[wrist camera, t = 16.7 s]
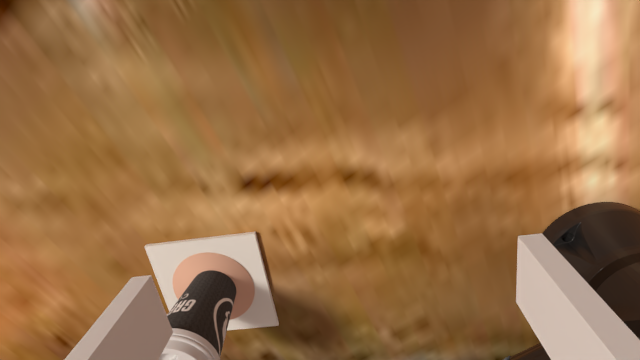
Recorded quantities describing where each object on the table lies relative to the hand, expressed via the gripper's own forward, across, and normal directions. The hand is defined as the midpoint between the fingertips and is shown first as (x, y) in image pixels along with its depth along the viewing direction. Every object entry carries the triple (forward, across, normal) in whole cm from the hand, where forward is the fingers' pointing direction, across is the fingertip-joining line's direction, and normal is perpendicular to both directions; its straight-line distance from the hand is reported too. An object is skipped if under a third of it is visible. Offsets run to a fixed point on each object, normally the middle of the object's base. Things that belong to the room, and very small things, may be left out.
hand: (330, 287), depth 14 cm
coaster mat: (+35, +22, +24) cm, 48 cm away
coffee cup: (+34, +22, +24) cm, 47 cm away
